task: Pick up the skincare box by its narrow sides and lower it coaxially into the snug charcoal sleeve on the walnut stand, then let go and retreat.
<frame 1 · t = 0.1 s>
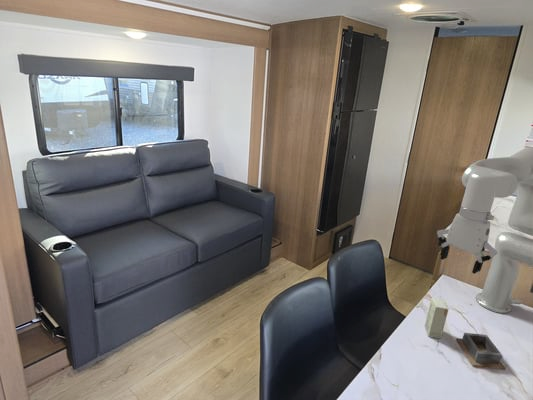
hand: (458, 265, 109), 31 cm above the table, tool pointing down, fingers open, 9 cm apart
skincare box: (432, 332, 126), on the table
sleeve stand: (479, 354, 117), on the table
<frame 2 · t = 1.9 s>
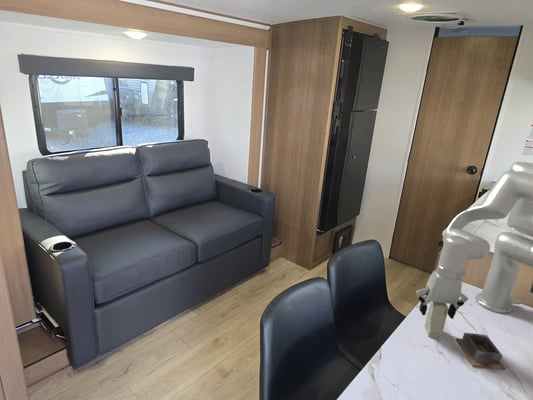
hand: (436, 314, 123), 8 cm above the table, tool pointing down, fingers open, 9 cm apart
nothing on the table moved.
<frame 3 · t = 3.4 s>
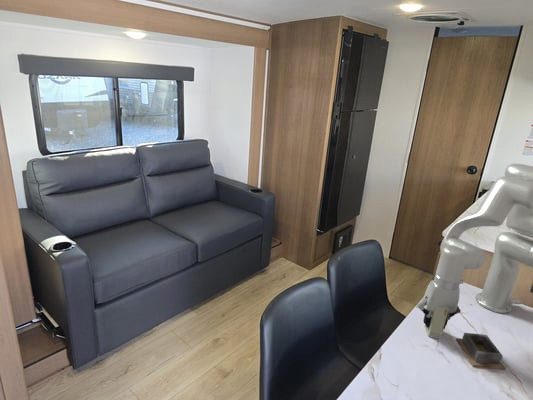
hand: (434, 325, 124), 3 cm above the table, tool pointing down, fingers closed on skincare box, 4 cm apart
skincare box: (432, 332, 126), on the table, touching gripper
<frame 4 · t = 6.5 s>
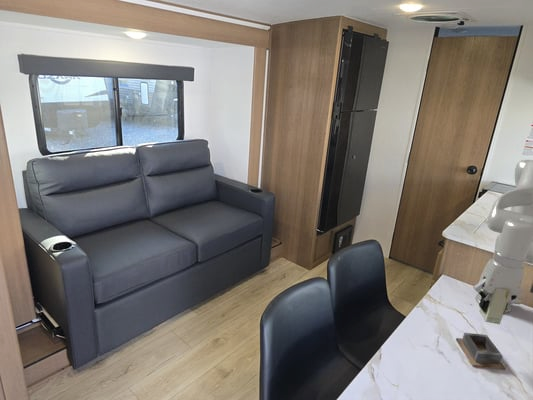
hand: (491, 309, 111), 17 cm above the table, tool pointing down, fingers closed on skincare box, 4 cm apart
skincare box: (488, 317, 112), point 14 cm above the table, touching gripper
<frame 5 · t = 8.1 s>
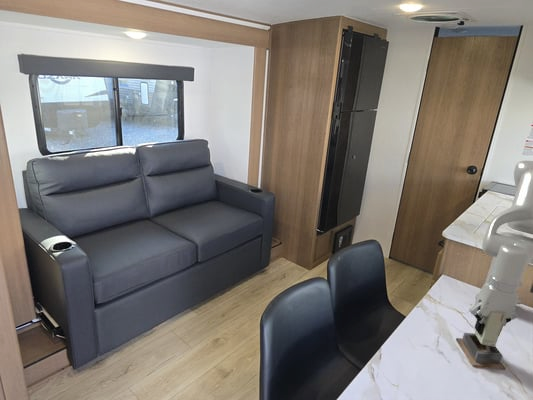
hand: (486, 331, 113), 9 cm above the table, tool pointing down, fingers closed on skincare box, 4 cm apart
skincare box: (484, 339, 114), point 6 cm above the table, touching gripper
when the fingers open (6 cm above the table, at t = 9.6 s): skincare box drops 2 cm, resting on sleeve stand.
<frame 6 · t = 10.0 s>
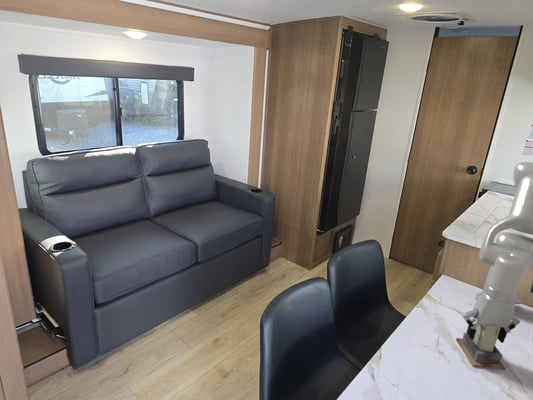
hand: (484, 338, 114), 7 cm above the table, tool pointing down, fingers open, 9 cm apart
skincare box: (479, 352, 116), point 1 cm above the table, touching sleeve stand
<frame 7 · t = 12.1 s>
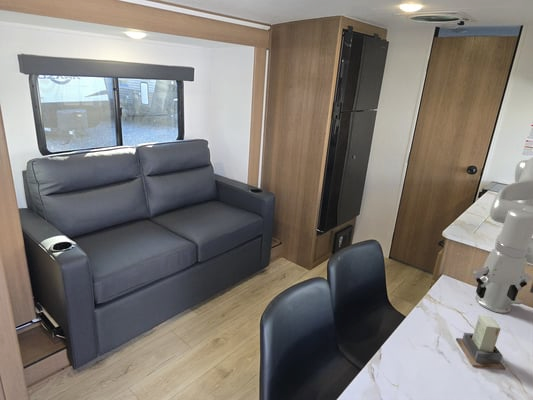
hand: (494, 297, 112), 21 cm above the table, tool pointing down, fingers open, 9 cm apart
nothing on the table moved.
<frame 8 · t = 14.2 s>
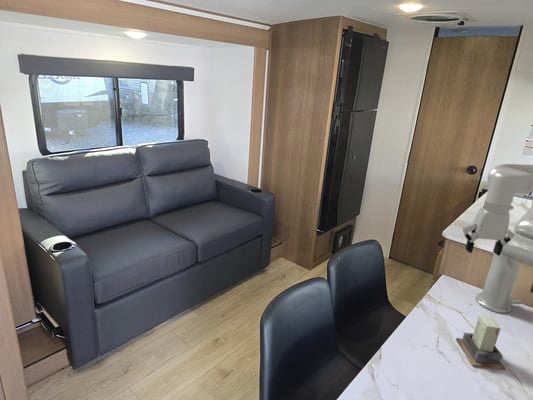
hand: (482, 252, 125), 28 cm above the table, tool pointing down, fingers open, 9 cm apart
nothing on the table moved.
at the end: skincare box 0.1 cm off-centre on the sleeve stand, point 0.6 cm above the sleeve stand's base; skincare box tilted 0°; the gripper is holding nothing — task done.
